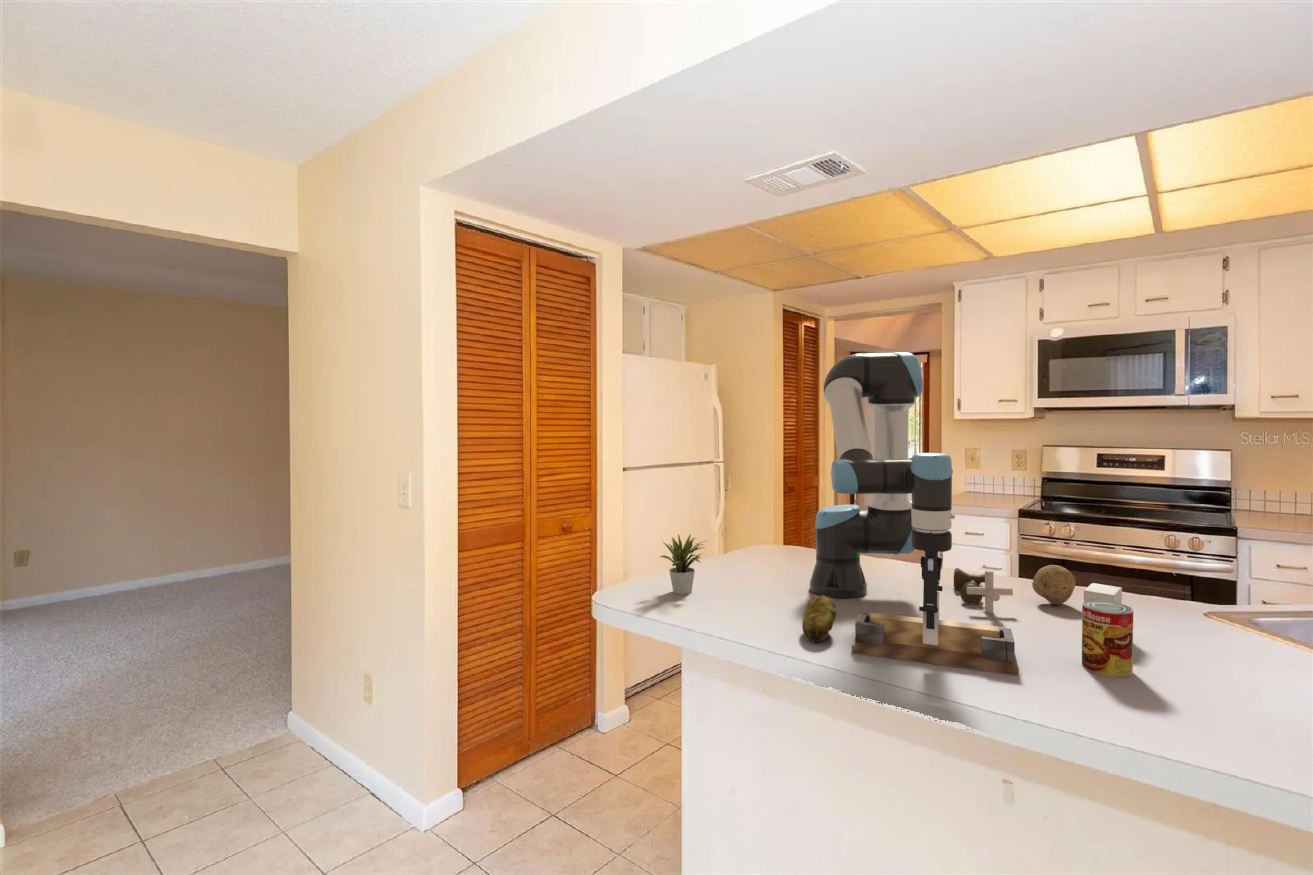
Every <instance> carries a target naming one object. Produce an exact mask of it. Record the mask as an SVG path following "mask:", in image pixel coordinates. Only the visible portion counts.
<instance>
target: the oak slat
mask: <svg viewBox="0 0 1313 875" xmlns="http://www.w3.org/2000/svg"><path fill="white" fill-rule="evenodd" d="M870 623H875V624H883V625H884V642H887V643H895V644H903V645H911V646H919V647H926V648H934V649H942V650H950V651H958V652H965V653H973V654H981V655H982V636H987V637H996V638H1000V631H999V628H1000V627H999V626H995V625H988V624H979V623H978V624H977V623H969V622H968V623H967V622H961V621H959V622H958V621H952V620H942V619H939V620H938V645H931V644H923V617H915V616H914V617H913V616H907V615H905V616H904V615H897V614H887V613H880V612H879V613H878V612H877V613H876V612H871V615H870Z"/></svg>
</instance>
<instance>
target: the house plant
mask: <svg viewBox="0 0 1313 875" xmlns="http://www.w3.org/2000/svg"><path fill="white" fill-rule="evenodd" d="M677 539H678V540H677V541H678V542H677V541H676V538H674V537H673V536H671V542H672V544H671V543H668V544H667V543H666V542H664V541H662V543H663V544H664V545H665V546H666V548H667V549H668V550H669V551H670V553H671V555H672V556H671V557H670V556H667V555H665V554H664V555H660V556H659V558H664V559H667V560H669V561H670V562H671V563H672V564H671V565H672V567H671V568H669V570H668V571H669V576H670V582H671V586H672V592H673V594H676V595H679V596H680V595H682V596H683V595H690V594H691V593H692V591H693V584H694V579H695V572H696V571H695V568H693V567H691V566H690V565H692V564H693V563H694V562H695V561H696V562H699V563H701V561H700V560H699V559H702V556H700V555H702V553H699V554H693V553H694V552H696V551H697V550H701V549H705V548H706V546H703V545H705V544H704V543H706V542H707V540H704V541H701V542H698V543H697V542H696V543H695V544H694V543H693V542H694V540H695V539H696V537H693V538H691V534H689V535H688V537H687V538H686V541H685V542H684V545H683V543H682V540H681V537H680V535H679V533H677ZM702 543H703V544H702ZM702 546H703V547H702ZM704 554H705V553H703V555H704ZM705 555H706V554H705ZM694 556H695V557H694Z"/></svg>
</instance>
